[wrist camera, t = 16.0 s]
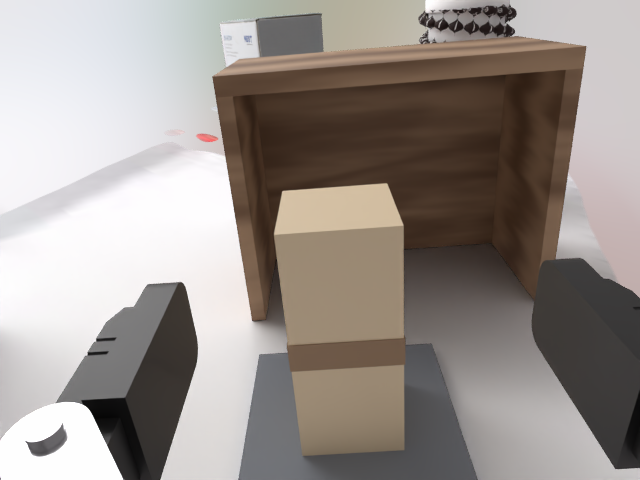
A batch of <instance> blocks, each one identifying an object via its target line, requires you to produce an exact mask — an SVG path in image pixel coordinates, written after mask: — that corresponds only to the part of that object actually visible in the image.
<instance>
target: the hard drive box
mask: <svg viewBox="0 0 640 480" xmlns="http://www.w3.org/2000/svg"><path fill="white" fill-rule="evenodd" d="M321 15H322V14H321V13H309V14H297V15H284V16H273V17H262V18H250V19H240V20H232V21H224V22H220V30H221V37H222V44H223V49H224V57H225V64H226V67H228V66H229V65H231V64H232V63H234V62H235V61H237V60H238V59H245V58H257V57H270V56H282V55H294V54H306V53H318V52H323V37H322V20H321Z"/></svg>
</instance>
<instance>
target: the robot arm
mask: <svg viewBox="0 0 640 480" xmlns="http://www.w3.org/2000/svg"><path fill="white" fill-rule="evenodd" d="M532 331H533V336H534V339H535V342H536V345H537V346H538V348H539V350H540V351H541V353H542V354H543V356H544V357H545V359H546V361H547V362H548V364H549V365H550V367H551V368H552V370H553V372H554V373H555V375H556V376H557V378H558V379H559V381H560V383H561V384H562V386H563V387H564V389H565V390H566V392H567V394H568V395H569V397H570V398H571V400H572V401H573V403H574V405H575V406H576V408H577V409H578V411H579V412H580V414H581V416H582V417H583V419H584V420H585V422H586V423H587V425H588V427H589V428H590V430H591V431H592V433H593V434H594V436H595V438H596V439H597V441H598V442H599V444H600V445H601V447H602V449H603V450H604V452H605V453H606V455H607V456H608V458H609V460H610V461H611V463H612V464H613V466H614V467H615V469H628V468H640V298H639V297H638V296H637V295H636V294H635V293H634V292H633V291H631V290H629V289H627V288H625V287H623V286H621V285H620V284H618V283H616V282H614V281H612V280H610V279H603V278H602V277H601V276H600V275H599V274H598V273H597V272H596V271H595V270H594V269H593V268H592V267H591V266H590V265H589V264H588V263H587V262H586V261H585V260H583V259H581V258H573V259H557V260H545V261H544V262H543V263H542V264H541V266H540V270H539V276H538V282H537V288H536V295H535V301H534V308H533V314H532ZM197 356H198V344H197V336H196V332H195V327H194V323H193V318H192V314H191V309H190V305H189V300H188V296H187V291H186V288H185V286H184V284H183V283H182V282H176V283H160V284H148V285H147V286H146V287H145V289H144V290H143V292H142V294H141V296H140V297H139V299H138V301H137V303H136V304H135V306H134V307H127V308H123V309H122V310H121V311H120V312H119V313H117V314H116V315H115V316H114V317H112V318H111V319H110V320H109V321H107V322H106V324H105V325H104V327H103V329H102V330H101V332H100V333H99V335H98V337H97V338H96V342H94V343H93V344H92V346H91V348H90V349H89V351H88V356H85V357H84V359H83V360H82V362H81V364H80V365H79V367H78V368H77V370H76V372H75V373H74V375H73V376H72V378H71V380H70V381H69V383H68V384H67V386H66V388H65V389H64V391H63V392H62V394H61V395H60V397H59V399H58V400H57V402H56V403H55V404H53V405H49V406H46V407H44V408H41V409H39V410H36V411H35V412H33V413H31V414H29V415H27V416H26V417H24V418H23V419H21V420H20V421H19V422H17V423H16V424H15V425H14V426H13V427H12V428H11V429H10V430H9V431H8V432H7V433H6V434H5V435H4V437H3V438H2V440H1V442H0V480H160V479H161V475H162V472H163V469H164V466H165V463H166V460H167V456H168V453H169V450H170V447H171V444H172V440H173V437H174V434H175V431H176V428H177V424H178V421H179V418H180V415H181V412H182V409H183V405H184V402H185V399H186V396H187V393H188V389H189V386H190V383H191V380H192V377H193V374H194V370H195V367H196V363H197Z"/></svg>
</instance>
